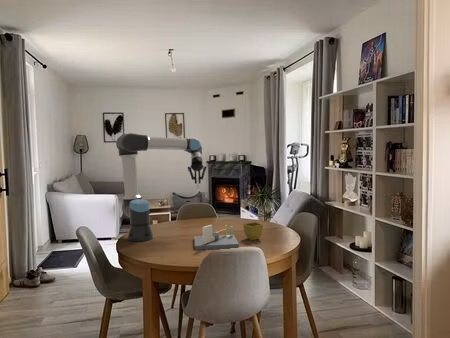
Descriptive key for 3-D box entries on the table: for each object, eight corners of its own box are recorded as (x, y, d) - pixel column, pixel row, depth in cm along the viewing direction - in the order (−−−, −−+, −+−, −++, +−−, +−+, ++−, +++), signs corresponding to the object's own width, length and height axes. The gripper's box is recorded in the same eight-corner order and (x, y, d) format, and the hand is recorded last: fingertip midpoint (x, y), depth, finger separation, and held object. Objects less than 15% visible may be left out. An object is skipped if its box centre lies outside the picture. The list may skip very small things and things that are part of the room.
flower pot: (250, 241, 209) (250, 226, 208) (243, 238, 217) (242, 223, 216) (263, 239, 213) (263, 224, 213) (255, 236, 221) (255, 222, 220)
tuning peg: (206, 244, 195) (206, 227, 195) (201, 243, 198) (200, 226, 197) (228, 235, 214) (228, 220, 213) (223, 234, 216) (223, 220, 215)
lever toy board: (194, 249, 194) (194, 234, 194) (194, 239, 216) (194, 226, 216) (238, 247, 196) (238, 233, 196) (233, 237, 218) (233, 224, 218)
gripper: (206, 163, 249) (207, 190, 233) (187, 164, 248) (187, 190, 232) (206, 156, 244) (208, 182, 228) (187, 156, 242) (187, 183, 227)
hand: (197, 186), depth 230 cm, fingers closed
